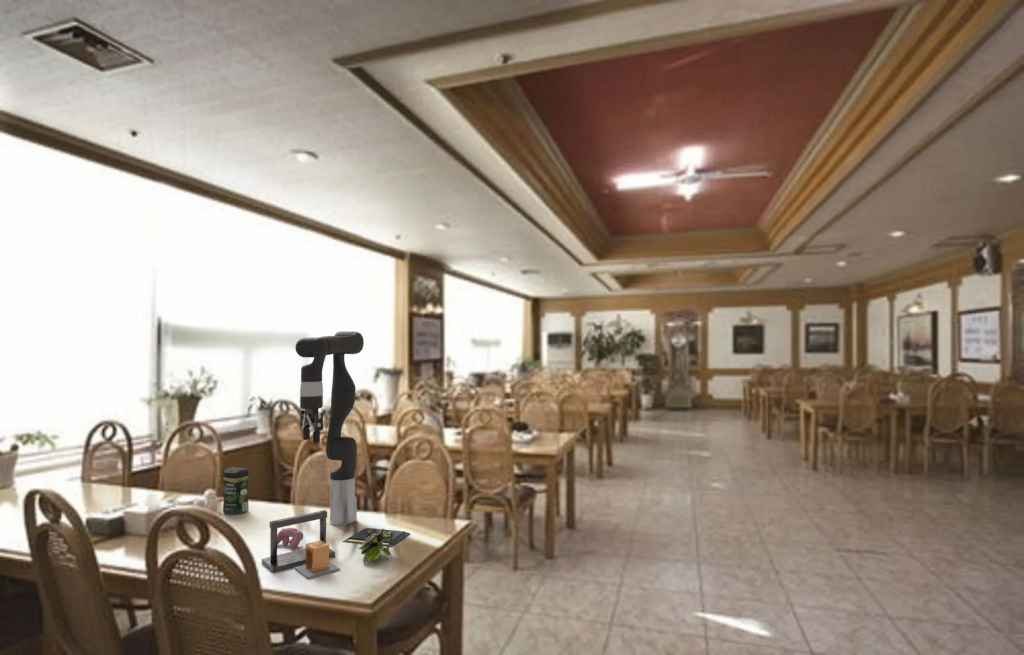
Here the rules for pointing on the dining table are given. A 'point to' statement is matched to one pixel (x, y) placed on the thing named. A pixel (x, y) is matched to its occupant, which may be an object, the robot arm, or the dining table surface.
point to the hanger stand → (298, 556)
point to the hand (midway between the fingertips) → (311, 441)
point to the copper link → (317, 556)
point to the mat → (308, 572)
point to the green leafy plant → (375, 545)
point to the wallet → (361, 537)
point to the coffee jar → (235, 490)
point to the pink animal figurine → (290, 532)
